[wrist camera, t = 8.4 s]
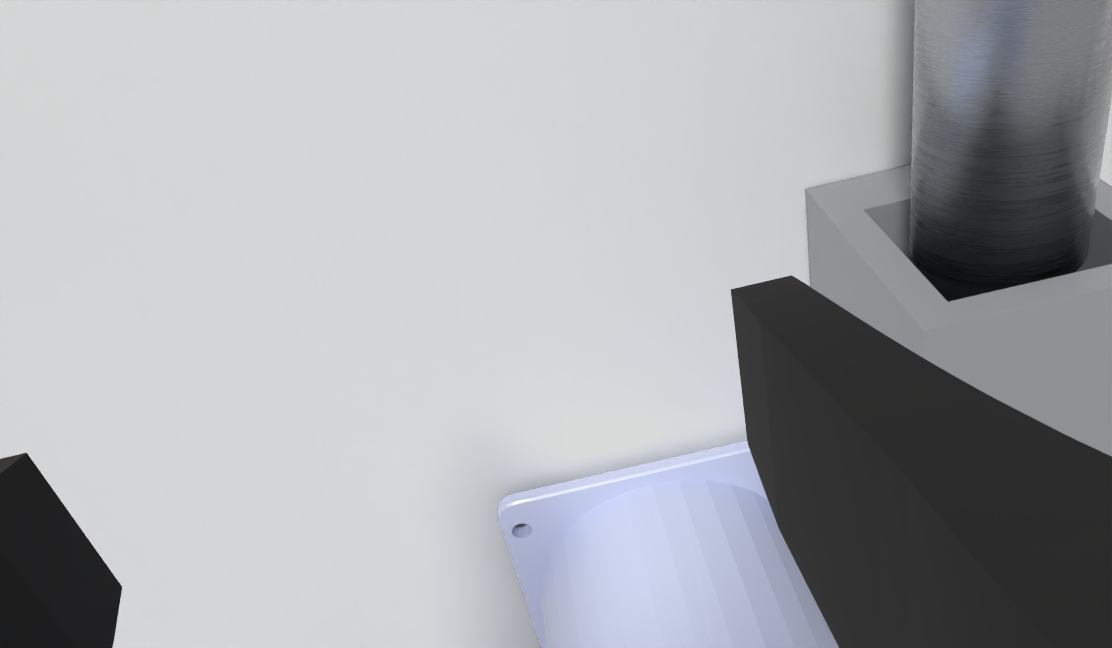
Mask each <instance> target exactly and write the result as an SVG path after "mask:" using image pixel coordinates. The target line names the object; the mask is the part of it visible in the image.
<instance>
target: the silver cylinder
mask: <svg viewBox="0 0 1112 648" xmlns="http://www.w3.org/2000/svg"><path fill="white" fill-rule="evenodd" d="M1111 97H1112V0H915V17H914V64H913V111H912V158H911V205H910V253H911V256H912V258H913V260H914V261H915V262H916V263H917V265H918V266H920V267H921V268H922V269H923V270H924V271H926V272H927V273H929V274H931V275H933V276H934V277H936V278H939V279H941V280H944V281H946V282H949V283H952V284H956V285H960V286H964V287H969V288H975V289H983V290H1001V289H1005V288H1010V287H1014V286H1018V285H1023V284H1027V283H1031V282H1036V281H1040V280H1044V279H1049V278H1053V277H1057V276H1062V275H1066V274H1070V273H1074V272H1076V271H1077V270H1078V269H1079V268H1080V267H1081V266H1082V265H1083V264H1084V262H1085V261H1086V259H1087V256H1088V251H1089V245H1090V238H1091V231H1092V224H1093V218H1094V211H1095V204H1096V198H1097V191H1098V184H1099V178H1100V171H1101V164H1102V157H1103V151H1104V144H1105V137H1106V131H1107V124H1108V117H1109V110H1110V104H1111Z"/></svg>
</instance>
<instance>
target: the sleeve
mask: <svg viewBox="0 0 1112 648" xmlns="http://www.w3.org/2000/svg"><path fill="white" fill-rule="evenodd" d="M805 191H806V211H807V230H808V250H809V270H810V287H811V288H813V289H814V290H816V291H817V292H819V293H820V294H822V295H823V296H825V297H827V298H828V299H830V300H831V301H833V302H834V303H836V304H837V305H839V306H840V307H842V308H844V309H845V310H847V311H848V312H850V313H851V314H853V315H854V316H856V317H858V318H859V319H861V320H862V321H864V322H866V323H867V324H869V325H870V326H872V327H873V328H875V329H877V330H878V331H880V332H881V333H883V334H885V335H886V336H888V337H889V338H891V339H893V340H894V341H896V342H898V343H899V344H901V345H903V346H904V347H906V348H907V349H909V350H911V351H912V352H914V353H916V354H917V355H919V356H921V357H923V358H924V359H926V360H928V361H929V362H931V363H933V364H934V365H936V366H938V367H940V368H941V369H943V370H945V371H947V372H948V373H950V374H952V375H954V376H955V377H957V378H959V379H960V380H962V381H964V382H966V383H968V384H970V385H971V386H973V387H975V388H977V389H979V390H980V391H982V392H984V393H986V394H988V395H990V396H991V397H993V398H995V399H997V400H999V401H1001V402H1003V403H1005V404H1007V405H1009V406H1010V407H1012V408H1014V409H1016V410H1018V411H1020V412H1022V413H1024V414H1026V415H1028V416H1030V417H1032V418H1034V419H1036V420H1038V421H1040V422H1042V423H1044V424H1046V425H1048V426H1050V427H1051V428H1053V429H1055V430H1057V431H1059V432H1061V433H1063V434H1065V435H1067V436H1069V437H1071V438H1073V439H1075V440H1078V441H1080V442H1082V443H1084V444H1086V445H1088V446H1090V447H1093V448H1095V449H1097V450H1099V451H1101V452H1103V453H1105V454H1108V455H1110V456H1112V186H1110V185H1109V184H1107V183H1106V182H1104V181H1103V180H1101V179H1100V178H1099V184H1098V191H1097V198H1096V204H1095V211H1094V218H1093V224H1092V231H1091V238H1090V245H1089V251H1088V256H1087V259H1086V261H1085V262H1084V264H1083V265H1082V266H1081V267H1080V268H1079V269H1078V270H1077V271H1076V272H1074V273H1070V274H1066V275H1062V276H1057V277H1053V278H1049V279H1044V280H1040V281H1036V282H1031V283H1027V284H1023V285H1018V286H1014V287H1010V288H1005V289H1001V290H983V289H975V288H969V287H964V286H960V285H956V284H952V283H949V282H946V281H944V280H941V279H939V278H936V277H934V276H933V275H931V274H929V273H927V272H926V271H924V270H923V269H922V268H921V267H920V266H918V265H917V263H916V262H915V261H914V260H913V258H912V256H911V253H910V205H911V165H906V166H902V167H898V168H893V169H889V170H885V171H881V172H876V173H872V174H868V175H863V176H859V177H855V178H851V179H846V180H842V181H838V182H833V183H829V184H825V185H821V186H816V187H812V188H808V189H805Z"/></svg>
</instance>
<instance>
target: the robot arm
mask: <svg viewBox="0 0 1112 648" xmlns="http://www.w3.org/2000/svg"><path fill="white" fill-rule="evenodd" d="M731 295H732V304H733V313H734V322H735V331H736V340H737V350H738V359H739V368H740V377H741V386H742V395H743V405H744V414H745V423H746V432H747V440H746V441H742V442H737V443H733V444H729V445H724V446H720V447H715V448H711V449H707V450H702V451H698V452H694V453H689V454H685V455H680V456H676V457H672V458H667V459H663V460H659V461H654V462H650V463H645V464H641V465H637V466H632V467H628V468H624V469H619V470H615V471H610V472H606V473H602V474H597V475H593V476H589V477H584V478H580V479H575V480H571V481H567V482H562V483H558V484H554V485H549V486H545V487H541V488H536V489H532V490H527V491H523V492H519V493H514V494H511V495H508V496H506V497H504V498H503V499H502V500H501V501H500V502H499V504H498V506H497V508H498V521H499V524H500V527H501V530H502V533H503V536H504V539H505V542H506V545H507V548H508V551H509V554H510V556H511V559H512V562H513V565H514V568H515V571H516V574H517V577H518V580H519V583H520V586H521V589H522V592H523V595H524V598H525V601H526V604H527V607H528V610H529V613H530V616H531V619H532V622H533V625H534V628H535V631H536V634H537V637H538V640H539V643H540V646H541V648H1112V456H1110V455H1108V454H1105V453H1103V452H1101V451H1099V450H1097V449H1095V448H1093V447H1090V446H1088V445H1086V444H1084V443H1082V442H1080V441H1078V440H1075V439H1073V438H1071V437H1069V436H1067V435H1065V434H1063V433H1061V432H1059V431H1057V430H1055V429H1053V428H1051V427H1050V426H1048V425H1046V424H1044V423H1042V422H1040V421H1038V420H1036V419H1034V418H1032V417H1030V416H1028V415H1026V414H1024V413H1022V412H1020V411H1018V410H1016V409H1014V408H1012V407H1010V406H1009V405H1007V404H1005V403H1003V402H1001V401H999V400H997V399H995V398H993V397H991V396H990V395H988V394H986V393H984V392H982V391H980V390H979V389H977V388H975V387H973V386H971V385H970V384H968V383H966V382H964V381H962V380H960V379H959V378H957V377H955V376H954V375H952V374H950V373H948V372H947V371H945V370H943V369H941V368H940V367H938V366H936V365H934V364H933V363H931V362H929V361H928V360H926V359H924V358H923V357H921V356H919V355H917V354H916V353H914V352H912V351H911V350H909V349H907V348H906V347H904V346H903V345H901V344H899V343H898V342H896V341H894V340H893V339H891V338H889V337H888V336H886V335H885V334H883V333H881V332H880V331H878V330H877V329H875V328H873V327H872V326H870V325H869V324H867V323H866V322H864V321H862V320H861V319H859V318H858V317H856V316H854V315H853V314H851V313H850V312H848V311H847V310H845V309H844V308H842V307H840V306H839V305H837V304H836V303H834V302H833V301H831V300H830V299H828V298H827V297H825V296H823V295H822V294H820V293H819V292H817V291H816V290H814V289H813V288H811V287H809V286H808V285H806V284H805V283H803V282H801V281H800V280H798V279H797V278H795V277H793V276H787V277H783V278H779V279H774V280H770V281H766V282H762V283H757V284H753V285H749V286H744V287H740V288H736V289H731ZM518 524H527V525H526V526H524V527H516V525H518ZM121 591H122V586H121V585H120V583H119V582H118V581H117V579H116V578H115V576H114V575H113V574H112V572H111V571H110V569H109V568H108V567H107V565H106V564H105V562H104V561H103V560H102V558H101V557H100V555H99V554H98V553H97V551H96V550H95V548H94V547H93V545H92V544H91V543H90V541H89V540H88V538H87V537H86V536H85V534H84V533H83V531H82V530H81V529H80V527H79V526H78V524H77V523H76V522H75V520H74V519H73V517H72V516H71V515H70V513H69V512H68V510H67V509H66V508H65V506H64V505H63V503H62V502H61V501H60V499H59V498H58V496H57V495H56V493H55V492H54V491H53V489H52V488H51V486H50V485H49V484H48V482H47V481H46V479H45V478H44V477H43V475H42V474H41V472H40V471H39V470H38V468H37V467H36V465H35V464H34V463H33V461H32V460H31V458H30V457H29V456H28V454H27V453H24V454H20V455H15V456H11V457H7V458H2V459H0V648H112V646H113V641H114V636H115V629H116V623H117V616H118V610H119V603H120V597H121Z"/></svg>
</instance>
